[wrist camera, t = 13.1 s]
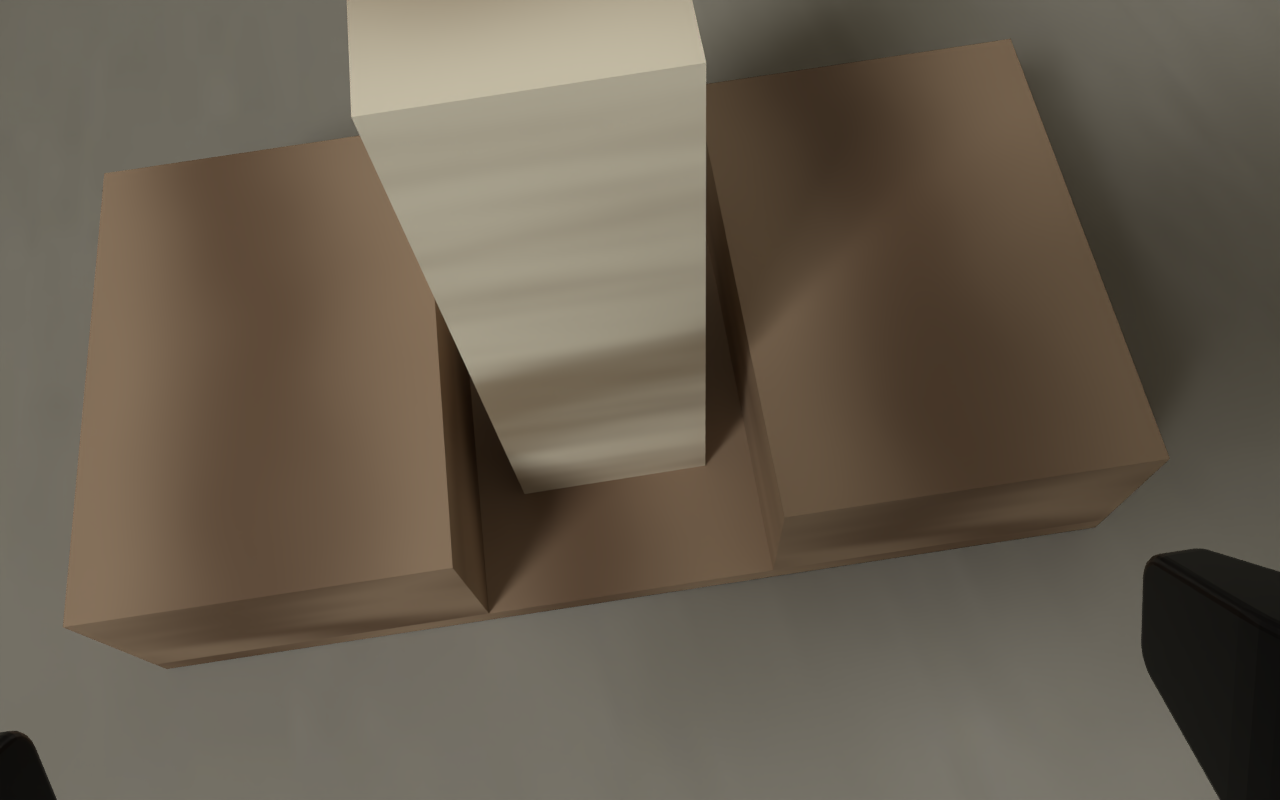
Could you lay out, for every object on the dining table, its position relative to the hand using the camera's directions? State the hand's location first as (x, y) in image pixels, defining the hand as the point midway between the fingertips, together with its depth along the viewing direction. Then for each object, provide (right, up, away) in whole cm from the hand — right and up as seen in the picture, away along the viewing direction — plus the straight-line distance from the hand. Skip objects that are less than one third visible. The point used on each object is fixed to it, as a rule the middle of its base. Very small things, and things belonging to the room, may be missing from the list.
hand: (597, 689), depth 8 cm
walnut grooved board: (0, +3, +16) cm, 16 cm away
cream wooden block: (-1, +3, +16) cm, 16 cm away
